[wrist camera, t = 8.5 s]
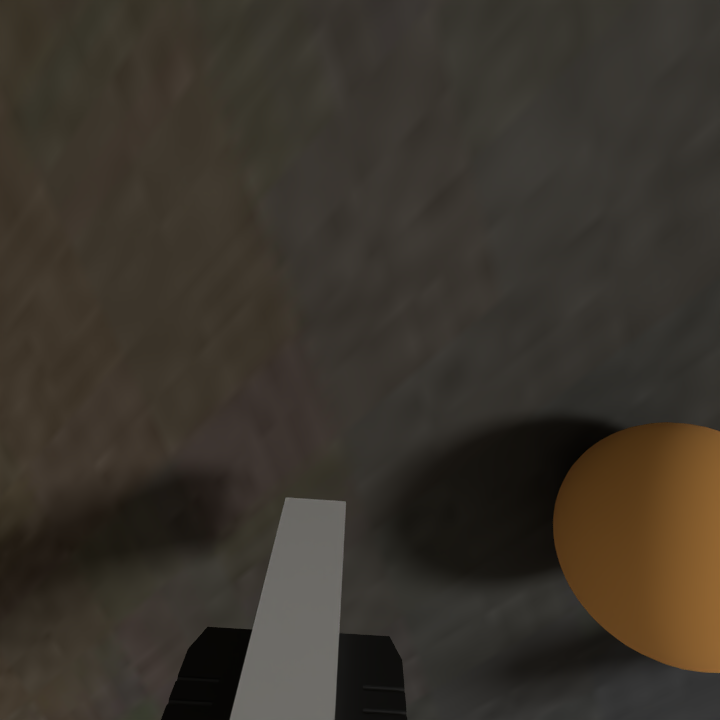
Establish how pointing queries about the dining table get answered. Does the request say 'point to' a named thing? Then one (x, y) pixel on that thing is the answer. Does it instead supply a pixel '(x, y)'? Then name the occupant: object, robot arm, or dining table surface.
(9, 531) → the dining table surface
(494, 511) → the dining table surface
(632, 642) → the ball
